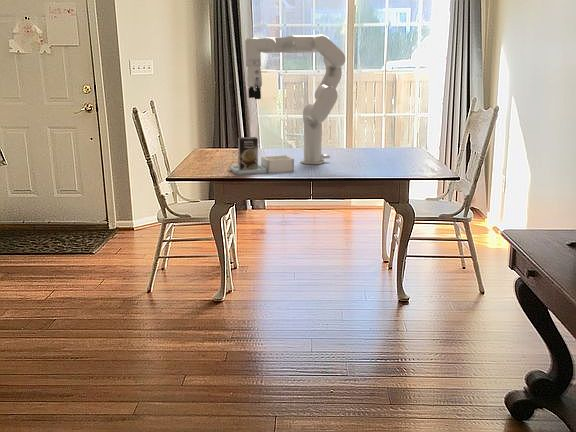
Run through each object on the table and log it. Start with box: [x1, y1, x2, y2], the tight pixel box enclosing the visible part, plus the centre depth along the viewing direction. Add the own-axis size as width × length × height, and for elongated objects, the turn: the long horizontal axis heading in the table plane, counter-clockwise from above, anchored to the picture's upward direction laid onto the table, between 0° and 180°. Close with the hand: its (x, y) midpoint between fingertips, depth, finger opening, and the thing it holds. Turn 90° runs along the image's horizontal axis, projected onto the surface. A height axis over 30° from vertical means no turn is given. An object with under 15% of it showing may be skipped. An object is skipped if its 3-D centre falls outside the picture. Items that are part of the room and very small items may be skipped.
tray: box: [229, 163, 267, 176], centre depth 286 cm, size 15×14×2 cm
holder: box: [260, 154, 295, 173], centre depth 291 cm, size 14×12×6 cm
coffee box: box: [237, 136, 259, 171], centre depth 284 cm, size 9×6×16 cm
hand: (254, 98), depth 293 cm, fingers open, 9 cm apart
